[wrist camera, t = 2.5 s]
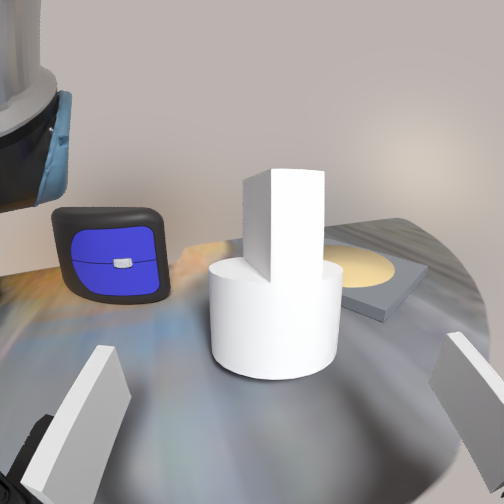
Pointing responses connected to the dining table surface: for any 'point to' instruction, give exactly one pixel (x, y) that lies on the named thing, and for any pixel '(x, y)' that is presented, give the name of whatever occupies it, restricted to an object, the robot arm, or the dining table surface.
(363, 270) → the plate
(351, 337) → the dining table surface
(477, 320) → the dining table surface
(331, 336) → the base with upright slab
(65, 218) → the black two-tone rounded device
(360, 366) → the dining table surface
